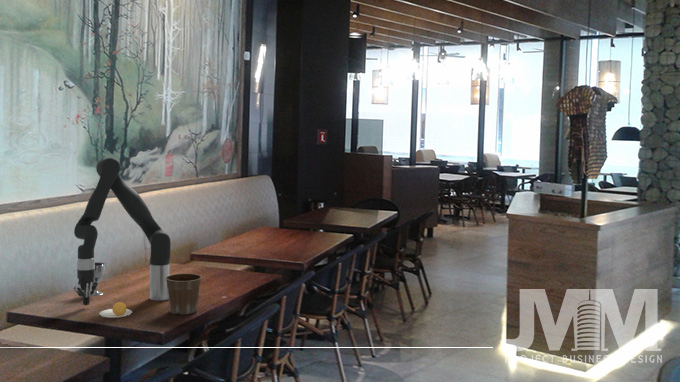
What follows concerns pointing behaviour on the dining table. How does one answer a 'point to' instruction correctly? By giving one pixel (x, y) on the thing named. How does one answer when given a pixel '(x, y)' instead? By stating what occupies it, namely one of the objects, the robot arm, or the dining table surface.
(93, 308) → the dining table surface
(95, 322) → the dining table surface
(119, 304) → the ball
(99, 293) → the wine glass
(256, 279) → the dining table surface
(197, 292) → the plant pot
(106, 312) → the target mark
